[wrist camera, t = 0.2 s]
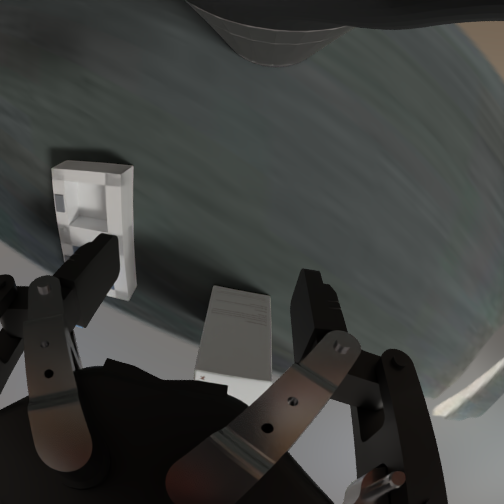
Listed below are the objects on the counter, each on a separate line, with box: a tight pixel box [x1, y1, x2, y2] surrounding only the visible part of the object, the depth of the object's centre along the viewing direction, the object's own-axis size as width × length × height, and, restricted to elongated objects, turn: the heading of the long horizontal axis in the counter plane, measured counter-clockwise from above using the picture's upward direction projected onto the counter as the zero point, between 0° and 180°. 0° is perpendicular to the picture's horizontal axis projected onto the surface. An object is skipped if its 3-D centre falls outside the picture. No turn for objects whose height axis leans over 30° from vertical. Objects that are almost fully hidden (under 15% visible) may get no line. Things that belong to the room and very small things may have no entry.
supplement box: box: [194, 285, 272, 406], centre depth 32 cm, size 7×7×13 cm
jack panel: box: [51, 160, 137, 301], centre depth 30 cm, size 16×9×3 cm, turn 170°
